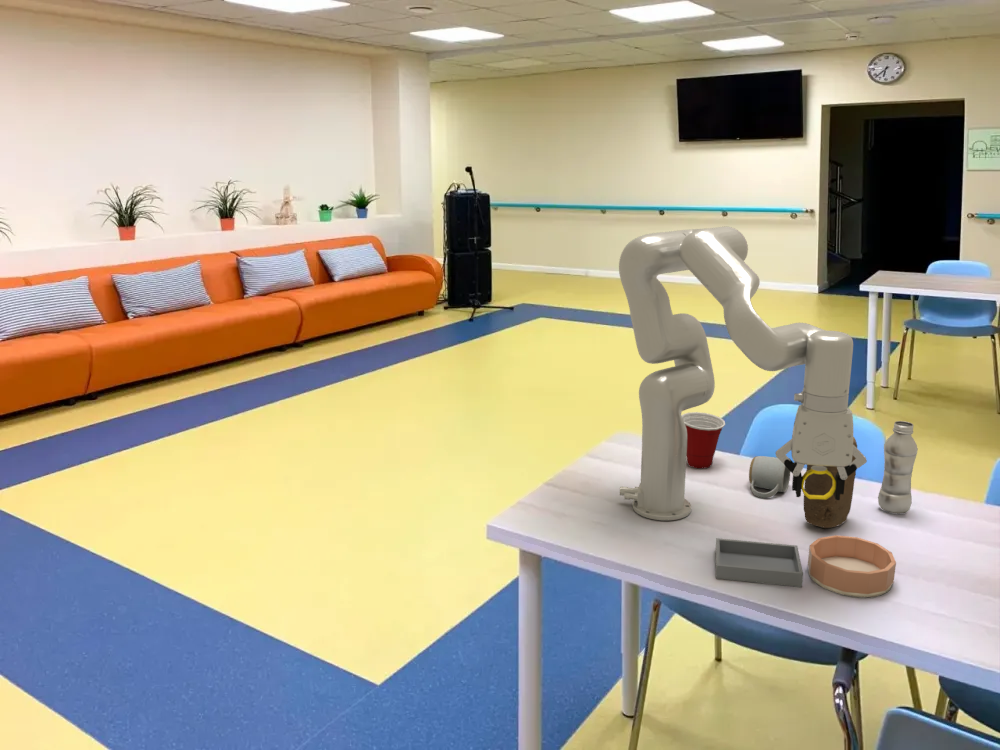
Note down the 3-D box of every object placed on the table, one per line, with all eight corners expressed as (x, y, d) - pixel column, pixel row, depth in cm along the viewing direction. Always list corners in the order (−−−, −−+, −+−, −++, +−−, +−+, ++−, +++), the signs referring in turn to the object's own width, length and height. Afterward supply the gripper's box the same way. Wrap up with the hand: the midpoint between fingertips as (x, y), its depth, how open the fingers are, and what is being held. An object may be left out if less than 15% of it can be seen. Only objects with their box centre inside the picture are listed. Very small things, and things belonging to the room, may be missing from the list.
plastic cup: (709, 476, 208) (712, 429, 204) (669, 465, 215) (671, 419, 211) (730, 463, 215) (733, 417, 212) (691, 453, 222) (694, 408, 219)
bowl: (812, 592, 156) (815, 568, 155) (804, 555, 170) (806, 532, 168) (899, 601, 153) (902, 576, 152) (883, 562, 166) (886, 539, 165)
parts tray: (715, 578, 161) (716, 565, 161) (715, 550, 172) (716, 538, 171) (801, 587, 158) (803, 573, 157) (796, 558, 168) (797, 545, 168)
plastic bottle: (902, 520, 184) (913, 431, 178) (870, 510, 189) (881, 423, 183) (915, 511, 188) (927, 424, 182) (884, 502, 193) (895, 416, 187)
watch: (802, 501, 157) (801, 471, 156) (799, 495, 160) (799, 465, 159) (836, 501, 156) (837, 470, 155) (833, 495, 159) (833, 464, 158)
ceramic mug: (754, 478, 206) (756, 448, 204) (790, 485, 202) (792, 454, 200) (743, 495, 197) (745, 464, 195) (779, 502, 193) (782, 471, 191)
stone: (828, 537, 177) (837, 445, 171) (795, 526, 182) (804, 436, 176) (854, 519, 185) (864, 430, 179) (822, 509, 189) (831, 422, 184)
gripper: (775, 404, 152) (768, 500, 157) (881, 410, 148) (871, 508, 153) (773, 392, 159) (766, 484, 164) (874, 397, 155) (864, 491, 160)
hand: (817, 494), depth 158 cm, fingers closed on watch, 6 cm apart
